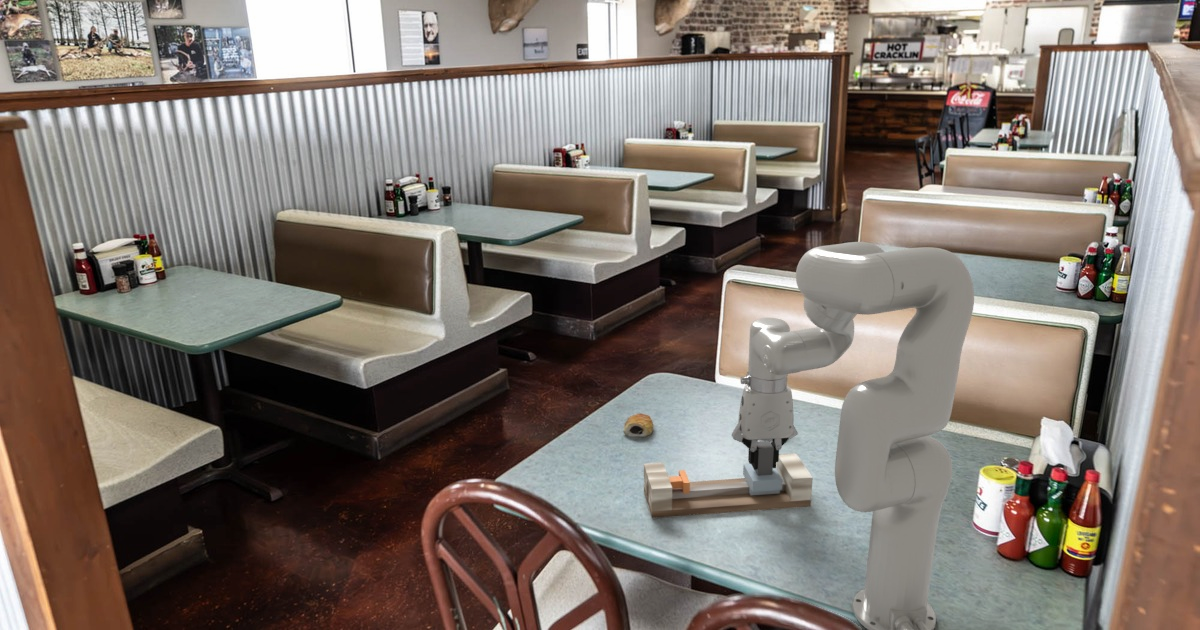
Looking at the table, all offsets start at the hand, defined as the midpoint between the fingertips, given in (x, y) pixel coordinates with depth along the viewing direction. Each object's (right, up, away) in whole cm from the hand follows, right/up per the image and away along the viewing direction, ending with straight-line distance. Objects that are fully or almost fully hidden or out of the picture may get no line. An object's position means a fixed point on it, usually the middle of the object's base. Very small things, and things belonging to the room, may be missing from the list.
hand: (763, 464), depth 165 cm
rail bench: (-7, -7, +2) cm, 10 cm away
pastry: (-24, +2, +32) cm, 40 cm away
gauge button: (-18, -5, -1) cm, 19 cm away
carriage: (0, -5, +2) cm, 5 cm away
